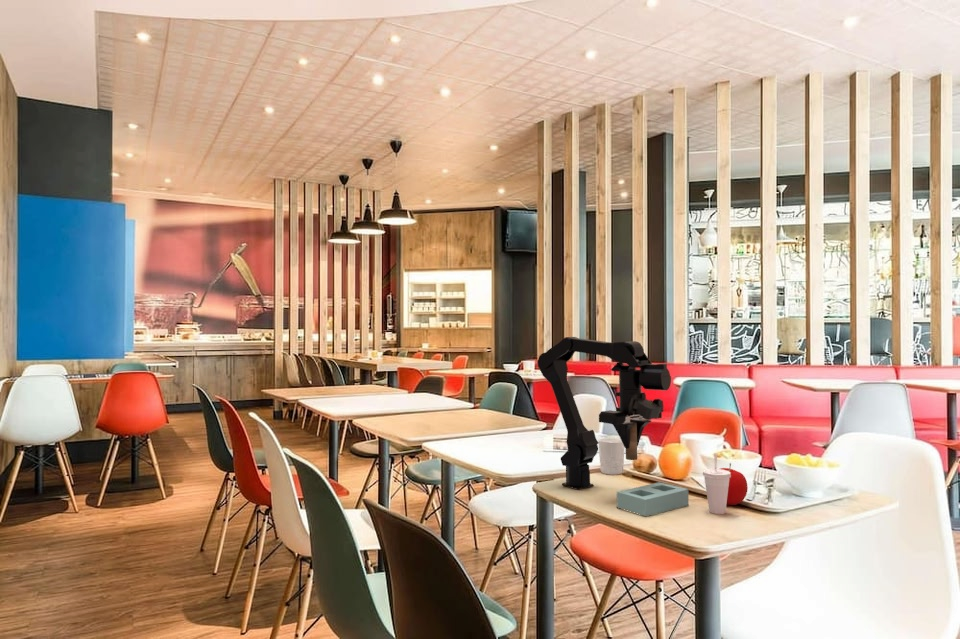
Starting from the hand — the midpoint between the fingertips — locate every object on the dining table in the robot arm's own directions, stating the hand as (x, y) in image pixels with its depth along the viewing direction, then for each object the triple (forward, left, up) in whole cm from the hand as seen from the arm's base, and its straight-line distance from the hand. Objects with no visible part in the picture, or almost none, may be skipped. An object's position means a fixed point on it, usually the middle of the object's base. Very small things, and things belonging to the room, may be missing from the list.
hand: (631, 447), depth 165 cm
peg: (0, 0, -3) cm, 3 cm away
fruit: (+19, +15, -13) cm, 27 cm away
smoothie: (+22, +6, -13) cm, 26 cm away
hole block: (+10, -3, -13) cm, 16 cm away
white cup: (-22, +16, -13) cm, 30 cm away
